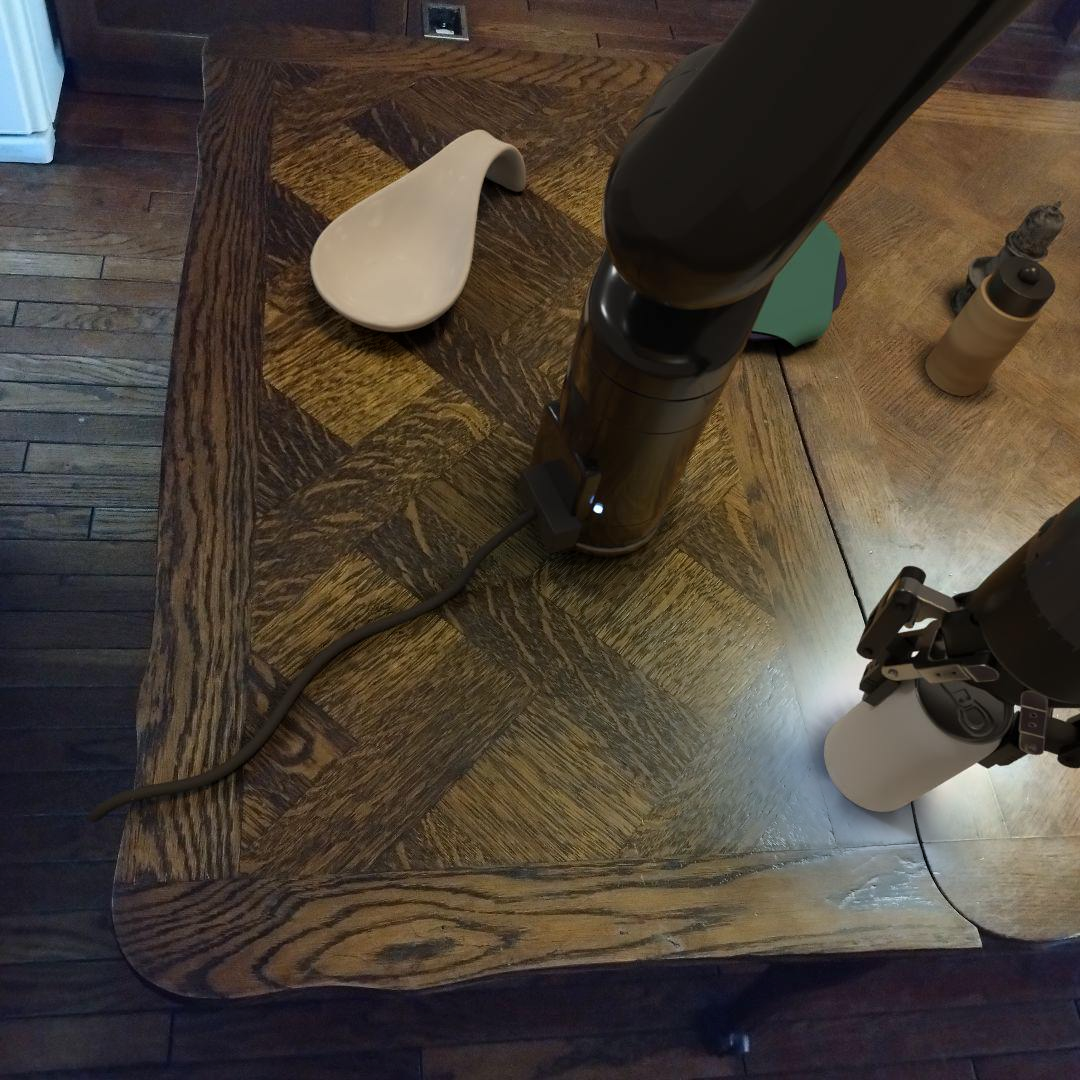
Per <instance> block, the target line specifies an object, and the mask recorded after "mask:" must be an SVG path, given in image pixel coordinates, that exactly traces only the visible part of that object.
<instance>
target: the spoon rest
mask: <svg viewBox="0 0 1080 1080" xmlns="http://www.w3.org/2000/svg"><path fill="white" fill-rule="evenodd" d="M485 178H486V179H488V180H490V181H491V182H494V183H496V184H498V185H500V186H502V187H504V188H506V189H508V190H510V191H513V192H517V193H518V192H523V191H524V190H525V189H526V186H527V172H526V165H525V161H524V158H523V156H522V154H521V152H520V151H519V149H518V148H517V147H516V146H514V145H513V144H511V143H506V142H504V141H502V140H500V139H497V138H496V137H494V136H493V135H491V133H489V132H488V131H487V130H484V129H475V130H471V131H469V132H466V133H464V134H462V135H461V136H458V137H457V138H455V139H454V140H453V141H451V142H450V143H449V144H448V145H446V146H445V147H444V148H442V149H441V150H440V151H439V152H437V153H436V154H434V155H433V156H432V157H431V158H429V159H428V160H425V162H423V163H422V164H421V165H419V166H417V167H416V168H415V169H413V170H411V171H409V172H408V173H406V174H405V175H403V176H401V177H399V178H398V179H397V180H395V181H393V182H391V183H389V184H388V185H386V186H385V187H383V188H381V189H379V190H378V191H375V192H374V193H373V194H371V195H369V196H367V197H365V198H364V199H363V200H361V201H359V202H358V203H356V204H354V206H352V207H350V208H349V209H348V210H346V211H345V212H343V213H342V214H340V215H338V216H337V217H336V218H335V219H334V220H333V221H331V222H330V223H329V224H328V225H327V226H326V227H325V228H324V229H323V231H322V232H321V233H320V235H319V236H318V238H317V240H316V241H315V243H314V245H313V248H312V251H311V253H310V254H311V255H310V263H309V268H310V275H311V279H312V282H313V284H314V287H315V289H316V291H317V292H318V294H319V295H320V297H321V298H322V300H324V302H325V303H326V304H327V305H328V306H329V307H330V308H332V309H333V310H334V311H335V312H337V313H338V314H340V315H341V316H343V317H344V318H345V319H347V320H349V321H351V322H352V323H354V324H356V325H359V326H362V327H364V328H367V329H370V330H374V331H379V332H385V333H400V332H401V333H402V332H408V331H409V332H410V331H413V330H417V329H420V328H423V327H425V326H427V325H429V324H431V323H433V322H435V321H436V320H438V319H439V318H440V317H442V316H443V315H444V314H445V313H446V312H448V311H449V310H450V308H452V306H453V305H455V303H456V302H457V301H458V298H459V297H460V296H461V294H462V291H463V290H464V288H465V285H466V283H467V281H468V277H469V275H470V271H471V266H472V263H473V256H474V248H475V241H476V239H475V238H476V229H477V219H478V210H479V203H480V196H481V192H482V189H483V184H484V180H485Z"/></svg>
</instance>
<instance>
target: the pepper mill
mask: <svg viewBox="0 0 1080 1080" xmlns="http://www.w3.org/2000/svg"><path fill="white" fill-rule="evenodd" d="M1055 291H1056V282H1055V278H1054V277H1053V274H1051V273H1050V271H1049V270H1048V268H1046V267H1045V266H1043V265H1042V264H1040V263H1039V262H1035V261H1033V260H1031V259H1028V258H1024V257H1009V258H1006V259H1005V260H1003V261H1002V262H1001V263H1000V265H999V266H998V268H997V269H996V270H995V272H994V273H993V274H992V275H989V276H987V277H986V278H985V279H984V280H983V281H982V283H981V284H980V285H979V287H978V288H977V290H976V291H975V292H974V294H973V295H972V296H971V298H970V299H969V301H968V302H967V303H966V305H965V306H964V307H963V309H962V310H961V312H960V313H959V314H958V316H957V315H956V317H955V319H954V320H953V321H952V322H951V324H950V325H949V326H948V328H947V329H946V331H945V332H944V334H943V335H942V336H941V338H940V339H939V340H938V341H937V343H936V345H935V346H934V347H933V348H932V350H931V351H930V353H929V354H928V356H927V357H926V359H925V362H924V363H925V364H924V367H925V372H926V374H927V376H928V378H929V380H930V381H931V382H932V383H933V384H934V385H935V386H936V387H937V388H939V389H941V390H942V391H944V392H946V393H948V394H950V395H954V396H956V397H957V396H958V397H960V396H961V397H969V396H972V395H974V394H976V393H978V392H979V391H980V390H981V388H982V387H983V386H984V385H985V383H987V381H988V380H989V379H990V377H991V376H993V374H994V372H996V370H997V369H998V368H999V367H1000V365H1001V364H1002V363H1003V362H1004V361H1005V359H1006V358H1007V357H1008V356H1009V354H1010V353H1011V352H1012V351H1013V350H1014V348H1015V347H1016V346H1017V345H1018V344H1019V342H1021V340H1022V339H1023V338H1024V336H1025V335H1026V334H1027V333H1028V332H1029V330H1030V329H1032V327H1033V325H1035V323H1036V322H1037V321H1038V320H1039V319H1040V317H1041V316H1042V315H1043V313H1044V307H1045V305H1046V304H1047V302H1048V301H1049V300H1050V298H1051V297H1052V296H1053V295H1054V293H1055Z"/></svg>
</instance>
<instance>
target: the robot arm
mask: <svg viewBox="0 0 1080 1080" xmlns="http://www.w3.org/2000/svg"><path fill="white" fill-rule="evenodd" d="M1036 2H1037V0H753V1H752V2H751V4H750V5H749V7H748V8H747V10H746V11H745V12H744V13H743V15H742V16H741V17H740V19H739V20H738V21H737V22H736V24H735V26H734V27H733V28H732V30H731V31H730V32H729V33H728V35H727V36H726V37H725V38H724V40H722V41H720V42H716V43H712V44H709V45H707V46H704V47H701V48H699V49H697V50H695V51H693V52H692V53H690V54H688V55H687V56H685V57H684V58H683V59H681V60H679V61H678V62H677V63H676V64H675V65H673V67H671V69H669V71H667V72H666V74H664V75H663V77H662V78H661V80H660V81H659V83H658V84H657V85H656V87H655V88H654V90H653V92H652V93H651V95H650V97H649V99H648V100H647V102H646V104H645V105H644V107H643V108H642V110H641V112H640V113H639V115H638V116H637V118H636V120H635V121H634V123H633V125H632V126H631V128H630V130H628V131H629V132H628V133H627V135H626V136H625V138H624V140H623V142H622V144H621V145H620V146H619V148H618V151H617V152H616V154H615V156H614V158H613V160H612V162H611V164H610V166H609V168H608V169H609V170H608V174H607V176H606V180H605V183H604V187H603V193H602V200H601V201H602V202H601V211H600V214H601V215H600V218H601V219H600V220H601V221H600V222H601V229H602V230H601V232H602V236H603V240H604V244H605V246H604V248H603V251H602V253H601V256H600V258H599V260H598V263H597V264H596V268H595V270H594V272H593V274H592V277H591V279H590V282H589V285H588V288H587V291H586V295H585V298H584V301H583V305H582V309H581V314H580V318H579V323H578V326H577V329H576V333H575V334H576V335H575V338H574V342H573V346H572V349H571V352H570V356H569V360H568V364H567V367H566V371H565V374H564V379H563V382H562V386H561V388H560V389H561V390H560V393H559V397H558V399H554V400H551V401H548V402H545V403H544V405H543V408H542V411H541V415H540V419H539V423H538V427H537V428H538V429H537V432H536V435H535V440H534V444H533V448H532V449H533V450H532V453H531V455H530V461H529V464H528V467H526V468H523V469H521V471H520V476H519V480H518V484H517V487H516V492H517V494H518V496H519V499H520V500H521V503H522V504H523V507H524V508H525V510H526V512H524V513H523V514H522V515H520V516H518V517H517V518H516V519H514V520H513V521H512V522H510V523H509V524H507V525H505V527H503V528H502V529H501V530H500V531H498V532H497V533H496V534H494V535H493V536H492V537H491V538H490V539H488V540H487V541H486V542H485V543H484V544H483V545H481V547H480V548H479V549H478V550H477V551H476V552H475V553H474V554H473V555H472V557H470V559H469V561H468V562H467V563H466V565H465V566H464V568H463V569H462V571H461V572H460V574H459V575H458V576H457V578H455V579H454V581H452V582H451V584H449V585H448V586H446V587H445V588H444V589H442V590H441V591H440V592H439V593H436V594H435V595H433V596H432V597H430V598H429V599H426V600H424V601H423V602H421V603H418V604H416V605H414V606H412V607H409V608H407V609H405V610H402V611H399V612H396V613H394V614H391V615H388V616H386V617H383V618H380V619H378V620H375V621H372V622H370V623H367V624H365V625H363V626H360V627H359V628H358V627H357V628H356V629H354V630H352V631H349V632H348V633H346V634H345V635H343V636H341V637H340V638H338V639H336V640H335V641H334V642H333V643H331V644H330V645H328V646H326V648H324V649H323V650H322V651H321V652H320V653H318V654H317V655H316V656H315V657H314V658H312V659H311V661H310V662H309V663H308V664H307V665H305V667H304V668H303V670H302V671H300V673H299V674H298V675H297V676H296V678H295V679H294V680H293V682H292V683H291V685H290V686H289V687H288V689H287V690H286V692H285V693H284V695H283V696H282V697H281V699H280V700H279V702H278V703H277V704H276V706H275V708H274V709H273V711H272V712H271V714H270V716H268V718H267V719H266V721H265V722H264V724H263V725H262V726H261V727H260V728H259V730H258V731H257V732H256V733H255V734H254V735H253V737H252V738H251V739H250V740H249V741H248V742H247V743H245V745H244V746H243V747H241V748H240V749H239V750H238V751H237V752H236V753H235V754H233V755H232V756H230V757H229V758H228V759H226V760H225V761H224V762H222V763H220V764H219V765H217V766H215V767H213V768H211V769H209V770H207V771H204V772H201V773H198V774H195V775H193V776H189V777H186V778H181V779H175V780H171V781H165V782H158V783H153V784H147V785H142V786H138V787H134V788H135V791H134V788H130V789H126V790H124V791H121V792H118V793H116V794H114V795H112V796H110V797H109V798H107V799H105V800H103V801H102V802H101V803H99V804H98V805H96V806H95V807H94V808H93V809H92V810H91V811H90V812H89V813H88V815H87V820H88V821H89V823H97V822H99V821H101V820H102V819H103V818H104V817H105V816H107V815H108V814H110V813H111V812H113V811H114V810H116V809H118V808H120V807H123V806H126V805H128V804H131V803H134V802H139V801H143V800H147V799H153V798H159V797H164V796H165V797H166V796H170V795H177V794H180V793H185V792H188V791H193V790H197V789H200V788H202V787H205V786H208V785H211V784H213V783H214V782H217V781H219V780H220V779H222V778H225V777H227V776H228V775H229V774H231V773H232V772H234V771H235V770H237V769H238V768H240V767H241V766H242V765H243V764H245V763H246V762H247V761H248V760H249V759H250V758H251V757H252V756H253V755H255V754H256V752H258V750H259V749H260V748H261V747H262V746H263V745H265V743H266V742H267V740H268V739H269V738H270V737H271V736H272V734H273V733H274V732H275V730H276V729H277V728H278V726H280V724H281V722H282V720H283V719H284V718H285V716H286V714H287V713H288V711H290V708H291V707H292V705H293V704H294V702H295V701H296V700H297V698H298V696H299V695H300V694H301V692H302V691H303V690H304V688H305V687H306V686H307V684H308V683H309V682H310V681H311V679H312V678H313V677H314V676H315V675H316V674H317V673H318V672H319V671H320V669H322V668H323V667H324V666H325V665H326V664H327V663H328V662H329V661H330V660H332V659H333V658H334V657H336V656H337V655H338V654H339V653H341V652H343V651H344V650H345V649H346V648H348V647H350V646H352V645H353V644H355V643H357V642H360V641H362V640H364V639H365V638H367V637H370V636H372V635H374V634H377V633H379V632H382V631H384V630H385V631H386V630H388V629H390V628H393V627H395V626H398V625H401V624H403V623H407V622H408V621H411V620H414V619H416V618H418V617H421V616H422V615H425V614H427V613H429V612H430V611H433V610H434V609H436V608H438V607H439V606H441V605H443V604H444V603H446V602H447V601H448V600H450V599H452V598H453V597H454V596H456V594H457V595H458V593H459V592H460V591H461V590H462V589H463V588H464V587H465V586H466V585H467V584H468V583H469V581H470V580H471V579H472V577H473V576H474V574H475V572H476V571H477V569H479V567H480V566H481V564H482V563H483V562H484V561H485V560H486V558H487V557H488V556H490V555H491V554H492V553H493V552H494V551H495V550H496V549H497V548H498V547H500V546H501V545H502V544H503V543H505V542H506V541H508V539H509V538H511V537H513V536H514V535H515V534H517V533H518V532H519V531H521V530H522V529H523V528H525V527H526V526H527V525H530V523H532V524H533V526H534V528H535V530H536V532H537V534H538V536H539V538H540V540H541V542H542V543H543V546H544V548H545V550H546V552H547V553H548V554H549V555H551V554H555V553H560V554H564V553H567V552H572V551H577V552H579V553H582V554H585V555H588V556H593V557H605V558H608V557H609V558H611V557H619V556H623V555H627V554H630V553H633V552H635V551H637V550H639V549H640V548H642V547H644V546H645V545H647V543H648V542H649V541H651V539H653V538H654V536H655V535H656V533H657V531H658V530H659V527H660V525H661V524H662V521H663V519H664V516H665V513H666V510H667V508H668V506H669V504H670V502H671V500H672V498H673V494H674V493H675V491H676V489H677V487H678V485H679V482H680V481H681V479H682V477H683V474H684V472H685V470H686V468H687V466H688V464H689V461H690V459H691V458H692V455H693V454H694V451H695V449H696V447H697V445H698V443H699V440H700V439H701V437H702V435H703V432H704V430H705V428H706V427H707V424H708V422H709V420H710V418H711V415H712V414H713V412H714V410H715V408H716V406H717V404H718V402H719V400H720V397H721V396H722V393H723V391H724V389H725V387H726V385H727V383H728V381H729V379H730V377H731V374H732V373H733V371H734V369H735V367H736V364H737V363H738V361H739V359H740V357H741V355H742V353H743V350H744V348H745V347H746V345H747V342H748V341H749V340H748V338H749V336H750V334H751V332H752V329H753V327H754V325H755V322H756V320H757V318H758V316H759V313H760V311H761V309H762V307H763V305H764V302H765V300H766V298H767V296H768V293H769V291H770V289H771V286H772V284H773V282H774V279H775V277H776V276H777V275H778V273H779V272H780V271H781V270H782V269H783V268H784V267H785V266H786V264H787V263H788V262H789V261H790V259H791V258H792V257H793V255H794V254H795V253H796V252H797V250H798V249H799V248H800V246H801V245H802V244H803V243H804V241H805V240H806V239H807V237H808V236H809V235H810V234H811V232H812V231H813V230H814V228H815V227H816V226H817V225H818V223H819V222H820V221H821V220H823V219H824V217H825V216H826V215H827V213H828V212H829V211H830V210H831V209H832V208H833V207H834V205H835V204H836V203H837V202H838V200H839V199H840V198H841V197H842V195H843V194H844V193H845V192H846V191H847V190H848V188H849V187H850V186H851V184H853V182H854V181H855V180H856V178H857V177H858V176H859V175H860V174H861V172H862V171H863V170H864V169H865V168H866V166H867V165H868V164H869V163H870V161H872V159H873V158H874V157H875V156H876V155H877V153H878V152H879V151H880V150H881V149H882V148H883V147H884V145H885V144H886V143H887V142H888V141H889V140H890V139H891V138H892V136H893V135H894V134H895V133H896V132H897V131H898V130H899V129H900V128H901V127H902V126H903V125H904V124H905V123H906V122H907V120H908V119H909V118H910V117H912V116H913V114H914V113H915V112H917V111H918V110H919V109H920V108H921V107H922V105H924V104H925V103H926V102H927V101H928V100H929V99H930V98H932V96H934V94H936V93H937V92H938V91H939V90H940V89H941V88H943V86H944V85H945V84H947V83H949V81H950V80H951V79H953V78H954V77H955V76H956V75H957V74H958V73H959V72H960V71H961V70H962V69H964V68H965V67H966V66H967V65H969V63H971V62H972V61H973V60H974V59H975V58H976V57H977V56H978V55H980V53H982V51H984V50H985V49H986V48H987V47H988V46H989V45H990V44H992V42H994V41H995V40H996V39H997V38H998V37H999V36H1000V35H1001V34H1003V32H1005V30H1007V29H1008V28H1009V27H1010V26H1011V25H1013V23H1015V21H1016V20H1018V19H1019V18H1020V17H1021V16H1022V15H1023V14H1024V13H1025V12H1026V11H1027V10H1028V9H1029V8H1030V7H1031V6H1032V5H1033V4H1034V3H1036ZM926 579H927V573H926V572H925V570H923V569H922V568H920V567H918V566H916V565H905V566H904V567H903V568H902V569H901V570H900V572H899V573H898V575H896V577H895V579H894V580H893V581H892V582H891V584H890V586H889V587H888V588H887V590H886V591H885V593H884V594H883V595H882V597H881V598H880V599H879V601H878V602H877V603H876V605H875V607H874V608H873V609H872V611H871V612H870V614H869V616H868V618H867V621H866V623H865V626H864V628H863V631H862V633H861V636H860V638H859V641H858V644H857V646H856V649H855V650H856V653H857V654H858V655H859V656H860V657H861V658H864V659H866V660H869V662H868V663H867V664H866V666H865V668H864V672H863V674H862V676H861V680H860V682H859V685H858V690H859V691H861V692H863V695H862V697H861V701H862V700H863V701H864V702H866V703H868V704H870V705H872V706H875V705H876V704H878V703H879V702H880V701H881V700H882V699H884V698H885V697H886V696H887V695H888V694H890V693H891V692H892V691H893V690H894V689H896V688H897V687H898V686H899V685H900V684H901V682H902V680H909V679H917V678H924V679H925V680H926V681H927V682H928V683H929V684H936V683H944V682H953V681H963V682H965V683H967V684H969V685H971V686H974V687H976V688H979V689H982V690H984V691H986V692H988V693H989V694H990V695H992V696H993V697H994V698H996V699H997V700H999V701H1000V702H1002V703H1004V704H1006V705H1008V706H1010V707H1013V706H1014V707H1015V706H1016V707H1019V708H1020V710H1017V711H1014V718H1013V722H1012V725H1011V727H1010V729H1009V730H1008V732H1007V733H1006V734H1005V735H1004V736H1003V739H1002V741H1001V742H1000V744H999V746H998V747H997V748H996V749H995V750H994V751H993V752H992V753H991V754H990V755H988V756H987V757H985V758H984V759H982V760H981V761H979V762H977V763H976V764H978V765H980V766H982V767H983V768H985V769H987V770H988V769H991V768H992V767H995V766H996V765H997V766H999V767H1007V766H1009V765H1012V764H1014V762H1017V761H1018V760H1020V759H1022V758H1024V757H1026V756H1027V755H1032V756H1033V755H1034V756H1040V755H1043V754H1044V752H1047V753H1050V754H1053V755H1057V756H1056V760H1057V762H1058V763H1059V764H1060V765H1061V766H1063V767H1066V768H1069V769H1080V713H1077V714H1074V715H1072V716H1071V717H1068V718H1067V719H1066V720H1062V719H1060V718H1058V717H1057V718H1056V717H1053V716H1054V709H1080V495H1079V496H1077V497H1076V498H1074V499H1073V500H1072V501H1071V502H1069V503H1068V504H1067V505H1066V506H1065V507H1064V508H1063V509H1061V511H1059V512H1058V513H1055V514H1054V515H1052V516H1050V517H1049V518H1048V519H1046V521H1044V523H1042V525H1041V526H1040V527H1039V529H1038V531H1037V532H1035V534H1034V535H1033V536H1031V537H1030V538H1029V539H1028V540H1027V541H1026V542H1024V543H1023V544H1022V545H1021V546H1020V547H1019V548H1018V549H1016V550H1015V551H1014V552H1013V553H1012V554H1011V555H1010V556H1009V557H1008V558H1007V559H1005V560H1004V561H1003V562H1002V563H1001V564H999V565H998V567H996V568H995V569H994V570H993V571H992V572H991V573H990V574H989V575H988V576H987V577H986V578H985V579H984V580H982V582H981V583H980V585H978V586H977V587H975V589H972V590H969V591H963V592H959V593H956V594H954V595H952V596H949V595H947V594H945V593H943V592H940V591H938V590H936V589H934V588H932V587H930V586H927V585H925V581H926ZM927 619H933V620H931V621H930V622H929V623H928V624H927V625H926V626H925V627H923V628H918V629H913V628H914V627H915V624H916V623H922V622H924V621H926V620H927ZM903 627H905V628H906V629H908V630H906V631H901V630H902V629H903ZM911 629H913V630H911ZM915 652H916V654H915V655H913V654H914V653H915ZM946 655H947V657H948V658H947V659H945V658H946ZM132 799H133V800H132Z"/></svg>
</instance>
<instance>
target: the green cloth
mask: <svg viewBox="0 0 1080 1080" xmlns="http://www.w3.org/2000/svg"><path fill="white" fill-rule="evenodd" d="M841 248H842V238H841V237H839V236H838V235H837V234H836V233H835V231H834V230H833V229H832V228H831V227H829V225H828V223H827V222H826V221H824V220H823V219H822V220H821V221H820V222H819V223H818V225H817V226H816V227H815V228H814V230H813V231H812V232H811V234H810V235H809V236H808V237H807V239H806V240H805V241H804V243H803V244H802V245H801V246H800V248H799V249H798V250H797V252H796V253H795V254H794V255H793V257H792V258H791V259H790V261H789V262H788V263H787V264H786V266H785V267H784V268H783V269H782V270H781V271H780V272H779V273H778V275H777V276H776V277H775V279H774V282H773V284H772V286H771V289H770V291H769V293H768V296H767V298H766V300H765V302H764V305H763V307H762V309H761V311H760V313H759V316H758V318H757V320H756V322H755V325H754V327H753V329H752V332H751V334H750V336H749V338H748V340H747V341H752V342H757V341H770V340H785V341H787V342H788V343H790V344H791V345H792V346H793V347H794V348H797V347H799V346H801V345H804V344H806V343H810V342H813V341H816V340H818V339H819V338H821V337H823V335H824V334H825V332H826V331H827V330H828V328H829V326H830V323H831V321H832V315H833V313H834V312H835V311H836V310H837V309H838V308H839V306H840V304H841V301H842V299H843V296H844V293H845V291H846V288H847V286H848V279H847V268H846V259H845V256H844V254H843V252H842V250H841Z"/></svg>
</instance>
